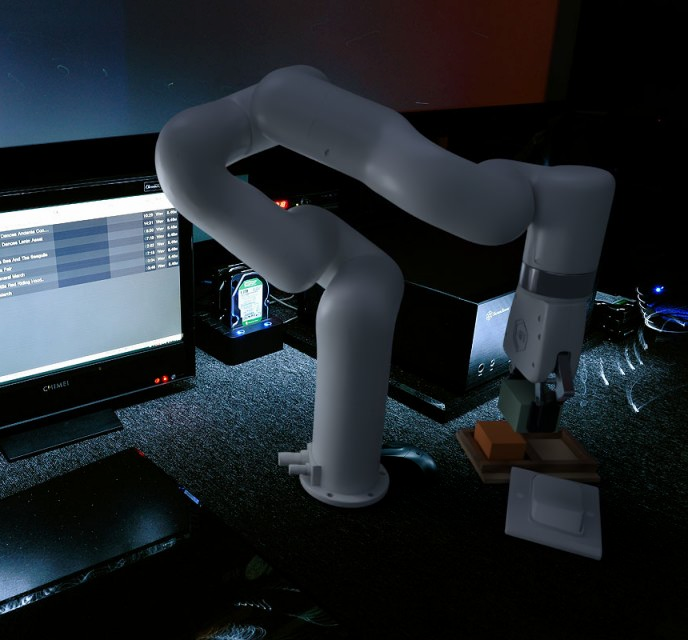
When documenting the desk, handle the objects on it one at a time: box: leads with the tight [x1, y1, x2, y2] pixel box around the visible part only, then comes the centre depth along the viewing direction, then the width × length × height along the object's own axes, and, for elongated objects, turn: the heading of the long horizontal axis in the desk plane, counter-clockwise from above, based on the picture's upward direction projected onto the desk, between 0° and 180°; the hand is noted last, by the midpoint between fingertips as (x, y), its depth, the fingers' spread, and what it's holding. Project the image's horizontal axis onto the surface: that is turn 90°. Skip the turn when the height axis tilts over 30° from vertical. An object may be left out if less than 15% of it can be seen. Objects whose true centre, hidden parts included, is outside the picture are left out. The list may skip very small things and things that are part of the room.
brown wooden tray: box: [455, 426, 601, 484], centre depth 99 cm, size 16×12×2 cm
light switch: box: [504, 467, 603, 561], centre depth 87 cm, size 11×4×13 cm
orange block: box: [474, 420, 527, 461], centre depth 99 cm, size 5×6×4 cm
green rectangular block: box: [496, 379, 565, 433], centre depth 81 cm, size 5×6×4 cm
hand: (528, 415), depth 82 cm, fingers closed on green rectangular block, 6 cm apart
